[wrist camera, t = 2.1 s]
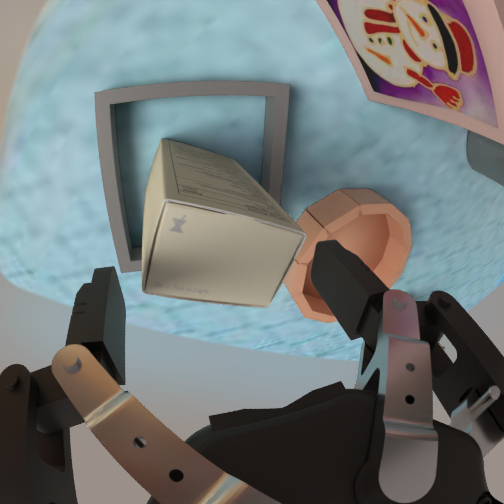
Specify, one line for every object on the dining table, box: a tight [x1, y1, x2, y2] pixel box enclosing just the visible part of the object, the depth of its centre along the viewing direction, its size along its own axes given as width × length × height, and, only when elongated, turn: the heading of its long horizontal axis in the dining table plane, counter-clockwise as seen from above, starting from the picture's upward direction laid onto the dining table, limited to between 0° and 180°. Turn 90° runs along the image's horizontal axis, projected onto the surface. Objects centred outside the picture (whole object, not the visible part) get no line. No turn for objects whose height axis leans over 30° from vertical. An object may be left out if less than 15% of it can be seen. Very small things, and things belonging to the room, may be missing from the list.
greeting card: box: [316, 0, 504, 145], centre depth 12 cm, size 11×7×15 cm, turn 33°
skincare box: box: [142, 139, 307, 308], centre depth 16 cm, size 6×4×12 cm
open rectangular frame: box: [95, 81, 290, 273], centre depth 20 cm, size 13×14×2 cm
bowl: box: [283, 189, 412, 323], centre depth 28 cm, size 14×14×4 cm
